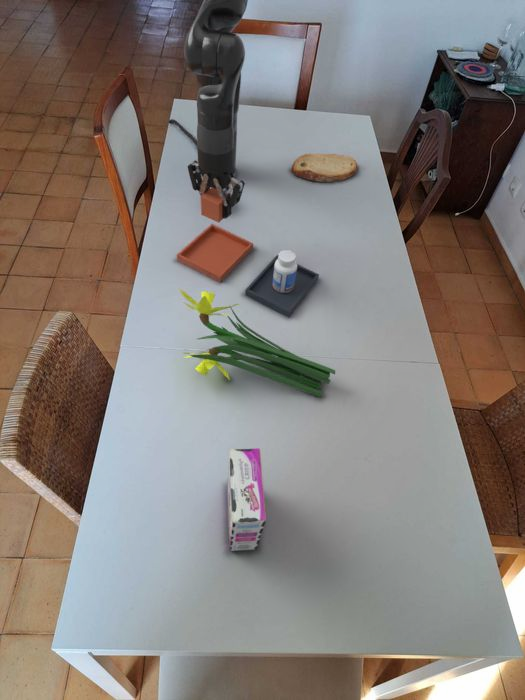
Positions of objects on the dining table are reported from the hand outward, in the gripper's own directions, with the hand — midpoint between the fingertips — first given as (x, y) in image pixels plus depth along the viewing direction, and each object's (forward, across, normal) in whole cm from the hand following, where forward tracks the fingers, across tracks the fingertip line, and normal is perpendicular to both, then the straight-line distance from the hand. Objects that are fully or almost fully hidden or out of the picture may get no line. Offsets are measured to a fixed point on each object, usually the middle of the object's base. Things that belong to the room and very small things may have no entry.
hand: (216, 211), depth 107 cm
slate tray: (+13, -20, 0) cm, 24 cm away
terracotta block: (0, 0, 0) cm, 0 cm away
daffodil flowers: (+14, -27, +24) cm, 39 cm away
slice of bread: (+13, -5, -53) cm, 55 cm away
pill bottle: (+13, -20, 0) cm, 24 cm away
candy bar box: (+14, -42, +52) cm, 68 cm away
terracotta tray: (+13, 0, 0) cm, 13 cm away
